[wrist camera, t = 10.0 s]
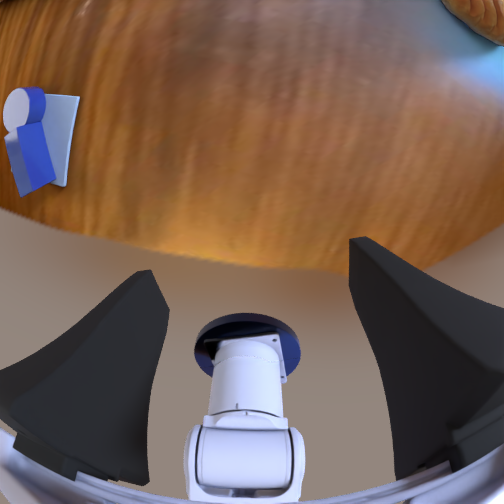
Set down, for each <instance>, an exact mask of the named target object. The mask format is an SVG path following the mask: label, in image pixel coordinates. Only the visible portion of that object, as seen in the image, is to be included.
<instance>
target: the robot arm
mask: <svg viewBox="0 0 504 504" xmlns="http://www.w3.org/2000/svg"><path fill="white" fill-rule="evenodd" d="M349 288H350V292H351V295H352V299H353V302H354V305H355V309H356V311H357V314H358V316H359V318H360V321H361V323H362V326H363V328H364V330H365V333H366V335H367V338H368V340H369V342H370V345H371V347H372V350H373V352H374V355H375V357H376V360H377V363H378V366H379V369H380V374H381V378H382V381H383V386H384V391H385V395H386V400H387V406H388V411H389V417H390V423H391V431H392V439H393V451H394V469H395V476H396V481H395V482H392V483H389V484H385V485H382V486H379V487H375V488H372V489H368V490H364V491H360V492H355V493H351V494H346V495H341V496H336V497H330V498H324V499H318V500H310V501H302V502H298V498H299V497H300V495H301V484H302V480H303V476H304V471H305V448H304V442H303V438H302V435H301V434H300V433H299V432H298V431H297V430H296V428H294V427H291V428H288V422H287V418H283V407H282V392H281V384H283V383H286V382H287V378H286V372H285V366H284V361H283V355H282V350H281V344H280V339H279V334H278V333H277V332H268V333H260V334H252V335H243V336H234V337H224V338H214V339H206V340H204V346H205V348H206V350H207V352H208V354H209V357H210V359H211V361H212V363H213V365H214V370H213V378H212V385H211V393H210V401H209V409H208V416H206V415H205V416H204V419H203V425H199V424H197V425H195V426H194V427H193V428H192V429H191V430H189V432H188V434H187V438H186V442H185V448H184V473H185V477H186V493H187V494H188V498H189V500H184V499H178V498H172V497H166V496H161V495H156V494H151V493H146V492H142V491H138V490H134V489H131V488H127V487H123V486H120V485H116V484H113V483H110V482H107V480H108V479H110V480H113V481H116V482H117V481H118V480H120V481H124V482H128V483H132V484H136V485H140V486H144V485H146V484H147V483H149V482H150V480H149V471H148V460H147V426H148V412H149V403H150V395H151V389H152V383H153V379H154V376H155V372H156V368H157V365H158V361H159V358H160V354H161V350H162V347H163V343H164V340H165V336H166V332H167V326H168V319H169V311H170V309H169V307H168V305H167V303H166V301H165V299H164V297H163V295H162V293H161V291H160V289H159V286H158V285H157V282H156V280H155V278H154V276H153V273H152V271H151V270H144V271H137V272H136V273H135V274H133V275H132V276H130V277H129V278H128V279H127V280H125V281H124V282H123V283H122V284H120V285H119V286H118V287H117V288H116V289H115V290H114V291H113V292H111V293H110V294H109V295H108V296H107V297H106V298H105V299H104V300H103V301H102V302H101V303H99V304H98V305H97V306H96V307H95V308H94V309H92V310H91V311H90V312H89V313H88V314H87V315H86V316H84V317H83V318H82V319H81V320H80V321H79V322H78V323H76V324H75V325H74V326H73V327H71V328H70V329H69V330H68V331H66V332H65V333H63V334H62V335H61V336H60V337H58V338H57V339H55V340H54V341H52V342H51V343H49V344H48V345H46V346H45V347H43V348H42V349H40V350H39V351H37V352H36V353H34V354H32V355H30V356H28V357H27V358H25V359H23V360H21V361H19V362H17V363H15V364H13V365H11V366H9V367H6V368H4V369H2V370H0V419H1V420H2V421H3V422H4V423H6V424H7V425H8V426H10V427H11V428H12V429H13V430H15V431H16V432H18V433H17V436H16V438H15V437H14V436H12V435H11V434H10V433H8V432H6V431H5V430H3V429H2V428H0V491H1V492H2V493H3V494H4V496H5V497H6V498H7V500H8V501H9V502H10V504H116V503H118V504H395V503H398V502H401V501H404V500H405V502H404V503H403V504H504V308H501V307H498V306H495V305H492V304H490V303H486V302H484V301H482V300H479V299H477V298H474V297H472V296H469V295H467V294H465V293H462V292H460V291H458V290H456V289H454V288H452V287H450V286H448V285H446V284H444V283H442V282H440V281H438V280H436V279H434V278H432V277H431V276H429V275H427V274H426V273H424V272H422V271H421V270H419V269H417V268H416V267H414V266H412V265H411V264H409V263H407V262H406V261H404V260H403V259H401V258H400V257H398V256H396V255H395V254H393V253H392V252H390V251H389V250H387V249H386V248H384V247H383V246H381V245H379V244H378V243H376V242H375V241H373V240H371V239H370V238H368V237H366V236H365V237H358V238H352V239H349ZM274 339H275V340H274Z"/></svg>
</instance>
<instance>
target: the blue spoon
mask: <svg viewBox="0 0 504 504" xmlns="http://www.w3.org/2000/svg"><path fill="white" fill-rule="evenodd" d="M45 110H46V97H45V94H44V92H43V90H42V89H41V88H39V87H23V88H17V89H15V90H14V91H12V92H11V93H10V95H9V96H8V98H7V100H6V102H5V106H4V110H3V121H4V125H5V128H6V129H7V131H8V132H9V134H7V135H6V136H5V137H4V139H5V144H6V148H7V152H8V157H9V161H10V164H11V168H12V172H13V175H14V179H15V182H16V185H17V188H18V191H19V195H20V197H21V198H22V197H24V196H26V195H27V194H29V193H31V192H33V191H35V190H37V189H38V188H40V187H42V186H44V185H46V184H48V183H50V182H52V181H54V180H56V175H55V172H54V168H53V165H52V161H51V158H50V154H49V150H48V146H47V142H46V138H45V134H44V130H43V125H42V122H41V121H42V119H43V117H44V114H45Z"/></svg>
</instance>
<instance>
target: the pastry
mask: <svg viewBox="0 0 504 504" xmlns="http://www.w3.org/2000/svg"><path fill="white" fill-rule="evenodd" d="M441 1H442V2H443V4H444V5H445V7H446V8H447V9H448V10H449V11H450V13H452V14H454V15H455V16H456V17H457V18H458V19H460V20H462V21H463V22H464V23H466V24H467V25H468V26H469V28H470V29H472V30H473V31H474V32H475V33H477V34H480V35H481V36H483V37H485V38H486V39H488V40H491V41H492V42H494V43H495V44H497V45H501V46H503V47H504V0H441Z"/></svg>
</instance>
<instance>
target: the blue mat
mask: <svg viewBox="0 0 504 504" xmlns="http://www.w3.org/2000/svg"><path fill="white" fill-rule="evenodd" d="M45 97H46V110H45V114H44V117H43V119H42V121H41V122H42V125H43V130H44V134H45V138H46V142H47V146H48V150H49V154H50V158H51V161H52V165H53V168H54V172H55V175H56V180H54V181H52V182H50V183H52V184H55V185H59V186H62V187H64V186H66V182H67V171H68V161H69V153H70V146H71V139H72V133H73V127H74V122H75V117H76V112H77V107H78V103H79V98H80V97H76V96H66V95H54V94H45ZM11 171H12V168H11Z"/></svg>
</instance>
